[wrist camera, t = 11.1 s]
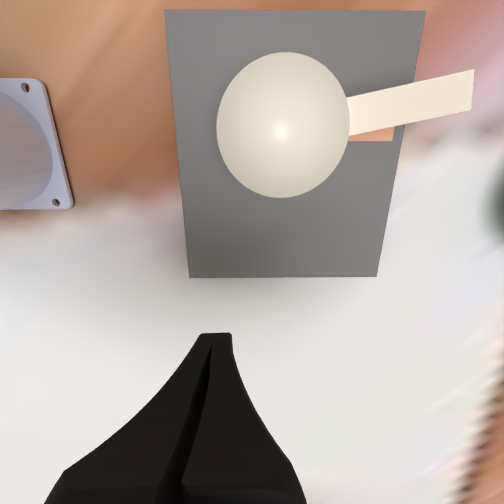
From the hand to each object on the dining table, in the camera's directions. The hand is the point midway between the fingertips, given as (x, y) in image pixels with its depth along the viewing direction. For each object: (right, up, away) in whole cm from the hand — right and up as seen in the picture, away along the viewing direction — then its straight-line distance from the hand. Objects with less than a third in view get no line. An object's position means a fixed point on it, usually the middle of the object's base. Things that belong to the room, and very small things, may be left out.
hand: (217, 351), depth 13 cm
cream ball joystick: (+6, +12, +3) cm, 13 cm away
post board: (+4, +10, +7) cm, 13 cm away
